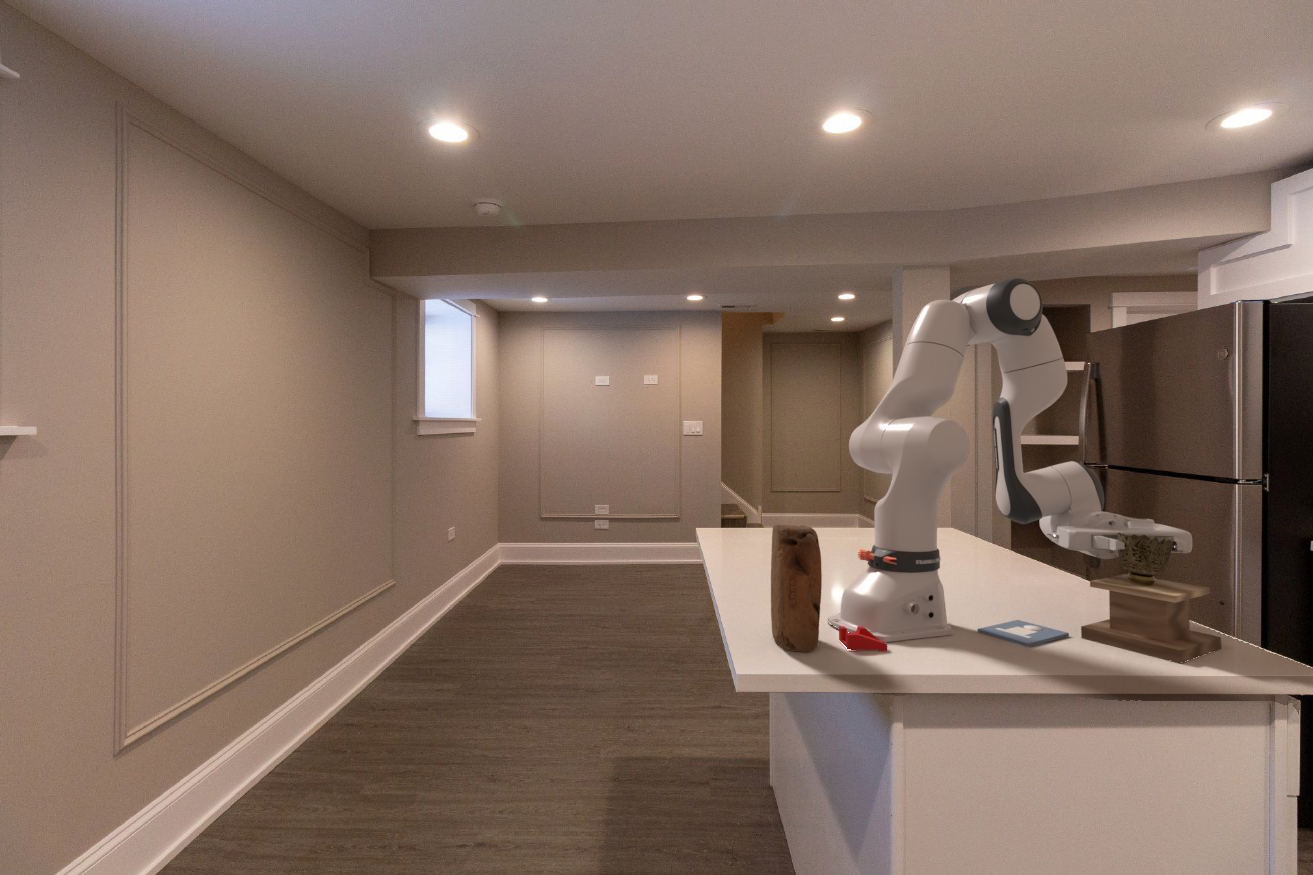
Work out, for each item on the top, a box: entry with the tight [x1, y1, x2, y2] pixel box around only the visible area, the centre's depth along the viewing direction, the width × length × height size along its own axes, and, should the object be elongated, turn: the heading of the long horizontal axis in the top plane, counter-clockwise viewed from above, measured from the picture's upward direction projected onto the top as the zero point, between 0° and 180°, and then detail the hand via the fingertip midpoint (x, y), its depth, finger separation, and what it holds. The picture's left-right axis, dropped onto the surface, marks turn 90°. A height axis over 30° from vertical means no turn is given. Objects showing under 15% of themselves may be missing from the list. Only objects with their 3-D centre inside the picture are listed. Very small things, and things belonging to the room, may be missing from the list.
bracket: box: [838, 626, 888, 652], centre depth 100 cm, size 6×5×3 cm
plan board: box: [977, 619, 1070, 648], centre depth 106 cm, size 12×9×1 cm
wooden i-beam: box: [1080, 573, 1222, 664], centre depth 101 cm, size 14×14×10 cm
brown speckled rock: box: [770, 524, 823, 653], centre depth 102 cm, size 11×8×20 cm
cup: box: [1117, 532, 1173, 585], centre depth 102 cm, size 8×7×8 cm
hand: (1150, 546), depth 101 cm, fingers open, 8 cm apart
